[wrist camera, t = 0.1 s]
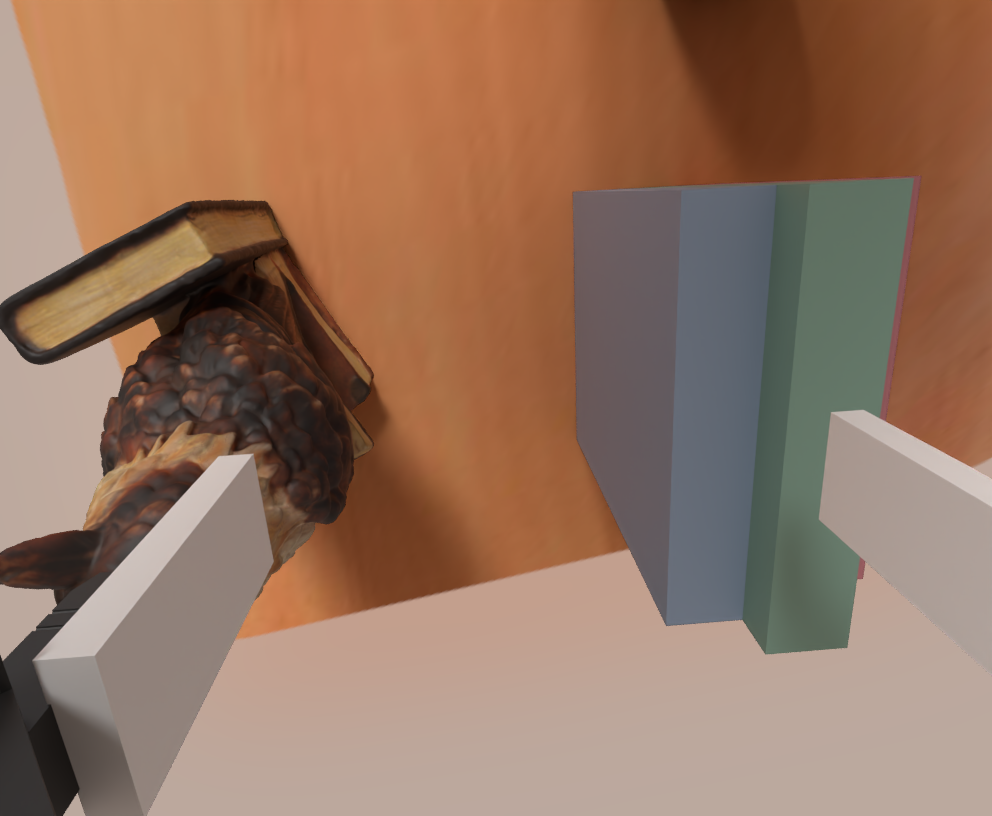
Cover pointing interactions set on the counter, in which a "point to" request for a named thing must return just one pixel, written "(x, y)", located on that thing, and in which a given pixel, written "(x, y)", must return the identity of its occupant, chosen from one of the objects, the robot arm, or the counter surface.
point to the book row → (736, 384)
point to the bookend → (197, 382)
